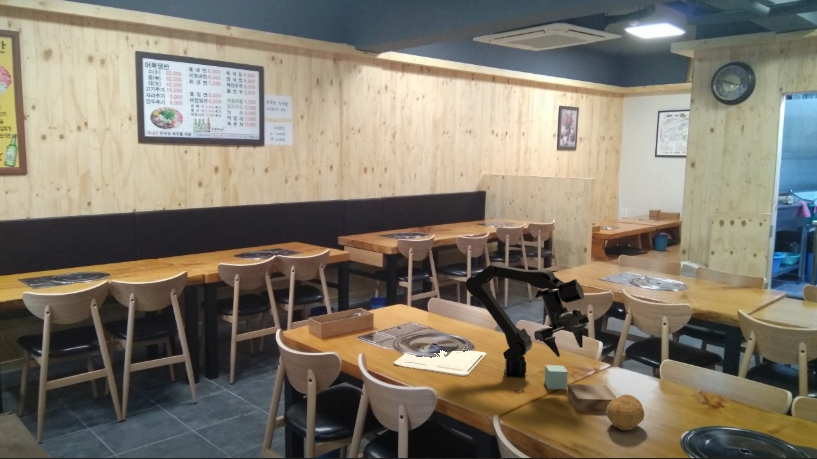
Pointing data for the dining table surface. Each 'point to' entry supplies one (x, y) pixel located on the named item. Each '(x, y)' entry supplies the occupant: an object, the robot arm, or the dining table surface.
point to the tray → (444, 362)
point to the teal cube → (556, 377)
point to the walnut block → (590, 397)
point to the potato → (625, 412)
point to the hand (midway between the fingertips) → (570, 352)
